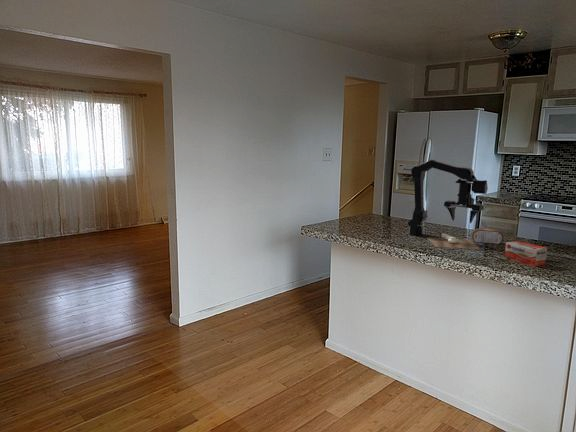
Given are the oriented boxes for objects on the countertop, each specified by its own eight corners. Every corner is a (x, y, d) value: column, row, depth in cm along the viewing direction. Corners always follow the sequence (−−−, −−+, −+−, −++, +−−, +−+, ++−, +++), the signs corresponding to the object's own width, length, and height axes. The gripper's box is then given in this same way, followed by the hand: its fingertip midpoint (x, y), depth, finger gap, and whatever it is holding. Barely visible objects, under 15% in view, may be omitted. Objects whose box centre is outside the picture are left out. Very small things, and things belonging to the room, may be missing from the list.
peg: (458, 243, 214) (459, 238, 214) (451, 243, 213) (451, 238, 212) (444, 237, 226) (444, 232, 225) (437, 237, 225) (437, 233, 224)
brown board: (434, 249, 207) (435, 246, 207) (426, 239, 227) (426, 237, 227) (480, 251, 205) (480, 248, 205) (467, 241, 225) (468, 238, 224)
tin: (501, 245, 218) (503, 229, 216) (502, 246, 215) (504, 231, 213) (470, 242, 223) (472, 227, 221) (471, 243, 220) (473, 228, 218)
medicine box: (503, 258, 194) (505, 241, 192) (514, 256, 197) (516, 240, 196) (534, 267, 181) (537, 249, 179) (546, 265, 184) (548, 247, 183)
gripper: (489, 193, 213) (486, 222, 216) (454, 189, 227) (451, 217, 229) (480, 194, 206) (477, 225, 209) (444, 190, 219) (442, 219, 222)
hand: (461, 221), depth 217 cm, fingers open, 9 cm apart
